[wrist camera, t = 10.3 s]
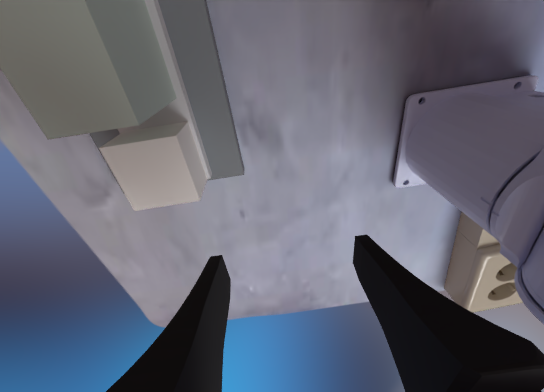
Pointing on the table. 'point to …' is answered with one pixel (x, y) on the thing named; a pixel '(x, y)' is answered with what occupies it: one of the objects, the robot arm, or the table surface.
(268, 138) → the table surface
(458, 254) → the electrical outlet
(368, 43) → the table surface
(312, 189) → the table surface
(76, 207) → the table surface
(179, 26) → the rail board
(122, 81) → the block
